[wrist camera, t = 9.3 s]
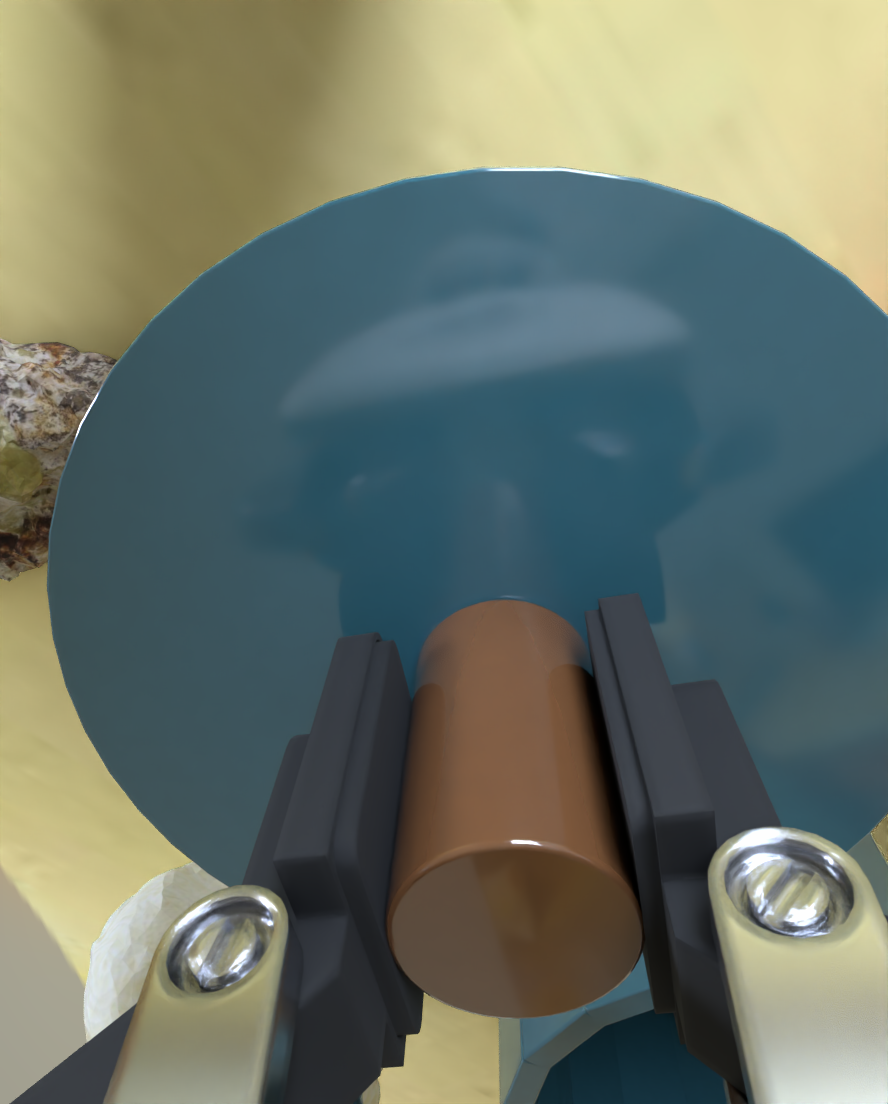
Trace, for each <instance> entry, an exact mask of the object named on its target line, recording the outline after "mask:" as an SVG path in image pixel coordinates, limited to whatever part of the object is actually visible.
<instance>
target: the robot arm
mask: <svg viewBox="0 0 888 1104" xmlns="http://www.w3.org/2000/svg"><path fill="white" fill-rule="evenodd" d="M598 606H599V609H596V610H590V611H584V614H585V622H586V629H587V636H588V643H589V650H590V657H591V664H592V671H593V678H594V682H595V687H596V692H597V697H598V702H599V706H600V711H601V716H602V721H603V726H604V730H605V735H606V740H607V745H608V750H609V754H610V759H611V764H612V769H613V773H614V778H615V783H616V788H617V793H618V797H619V802H620V807H621V812H622V817H623V821H624V826H625V831H626V836H627V841H628V845H629V850H630V855H631V860H632V864H633V869H634V874H635V879H636V884H637V888H638V893H639V898H640V904H641V910H642V917H643V924H644V932H645V945H644V948H643V956H644V961H645V966H646V971H647V976H648V981H649V986H650V991H651V996H652V1001H653V1006H654V1011H655V1014H661V1013H674V1017H675V1022H676V1026H677V1031H678V1035H679V1040H680V1045H682V1044H686V1046H687V1051H688V1052H689V1053H690V1054H692V1055H693V1056H694V1057H696V1058H697V1059H698V1060H700V1061H701V1062H702V1063H704V1064H705V1065H706V1066H708V1067H709V1068H710V1069H712V1070H713V1071H714V1072H716V1073H717V1074H718V1075H720V1076H721V1077H722V1078H723V1085H724V1090H725V1096H726V1101H727V1104H888V916H887V915H885V914H883V911H882V909H881V907H880V905H879V902H878V900H877V898H876V895H875V893H874V891H873V889H872V886H871V884H870V882H869V880H868V878H867V877H866V875H865V874H864V872H863V871H862V869H861V868H860V866H859V865H858V863H857V862H856V861H855V860H854V859H853V858H852V857H851V856H850V855H848V854H847V853H846V852H845V851H844V850H843V849H841V848H840V847H839V846H838V845H836V844H834V843H832V842H830V841H828V840H826V839H824V838H822V837H821V836H819V835H817V834H814V833H810V832H806V831H803V830H799V829H795V828H790V827H782V825H781V823H780V821H779V818H778V816H777V814H776V811H775V809H774V807H773V805H772V802H771V800H770V798H769V796H768V793H767V791H766V789H765V787H764V784H763V782H762V780H761V777H760V775H759V773H758V771H757V768H756V766H755V764H754V762H753V759H752V757H751V755H750V752H749V750H748V748H747V746H746V743H745V741H744V739H743V737H742V734H741V732H740V730H739V727H738V725H737V723H736V721H735V718H734V716H733V714H732V712H731V709H730V707H729V705H728V703H727V700H726V698H725V696H724V693H723V691H722V689H721V687H720V685H719V683H718V682H717V681H716V680H715V679H712V680H704V681H697V682H690V683H682V684H675V685H671V684H670V681H669V679H668V676H667V673H666V670H665V667H664V664H663V661H662V659H661V656H660V653H659V650H658V647H657V644H656V641H655V638H654V636H653V633H652V630H651V627H650V624H649V621H648V618H647V616H646V613H645V610H644V607H643V604H642V601H641V598H640V596H639V594H638V593H633V594H626V595H619V596H613V597H606V598H599V599H598ZM411 708H412V700H411V697H410V693H409V689H408V686H407V682H406V678H405V674H404V671H403V667H402V663H401V660H400V656H399V652H398V649H397V646H396V643H395V641H394V640H388V641H383V640H382V638H381V636H380V634H379V633H378V632H373V633H366V634H360V635H353V636H346V637H341V638H339V639H338V641H337V643H336V646H335V650H334V653H333V657H332V660H331V664H330V667H329V670H328V674H327V677H326V681H325V684H324V687H323V691H322V694H321V698H320V701H319V704H318V708H317V711H316V715H315V718H314V721H313V725H312V728H311V732H310V734H304V735H296V736H294V737H293V738H291V739H290V741H289V743H288V745H287V747H286V750H285V753H284V756H283V760H282V763H281V766H280V769H279V772H278V775H277V778H276V781H275V784H274V787H273V790H272V793H271V796H270V799H269V802H268V806H267V809H266V812H265V815H264V818H263V821H262V824H261V827H260V830H259V833H258V836H257V839H256V842H255V845H254V848H253V852H252V855H251V858H250V861H249V864H248V867H247V870H246V873H245V876H244V879H243V882H242V885H235V886H231V887H228V888H224V889H221V890H217V891H215V892H213V893H211V894H209V895H207V896H205V897H203V898H202V899H200V900H198V901H196V902H195V903H194V904H192V905H191V906H190V907H189V908H187V909H186V910H185V911H184V912H182V913H181V914H180V915H179V916H178V917H177V918H176V919H175V920H174V922H173V923H172V924H171V925H170V927H169V928H168V929H167V930H166V931H165V933H164V934H163V936H162V938H161V940H160V942H159V944H158V946H157V948H156V950H155V952H154V955H153V958H152V961H151V964H150V966H149V969H148V972H147V975H146V978H145V981H144V984H143V987H142V990H141V993H140V996H139V999H138V1002H137V1003H136V1004H135V1005H134V1006H132V1007H131V1008H130V1009H129V1010H127V1011H126V1012H125V1013H124V1014H122V1015H121V1016H120V1017H119V1018H117V1019H116V1020H115V1021H114V1022H112V1023H111V1024H110V1025H108V1026H107V1027H106V1028H105V1029H103V1030H102V1031H101V1032H100V1033H98V1034H97V1035H96V1036H95V1037H93V1038H92V1039H91V1040H90V1041H88V1042H87V1043H86V1044H85V1045H83V1046H82V1047H81V1048H79V1049H78V1050H77V1051H76V1052H74V1053H73V1054H72V1055H71V1056H69V1057H68V1058H67V1059H66V1060H64V1061H63V1062H62V1063H61V1064H59V1065H58V1066H57V1067H55V1068H54V1069H53V1070H52V1071H50V1072H49V1073H48V1074H47V1075H45V1076H44V1077H43V1078H42V1079H40V1080H39V1081H38V1082H37V1083H35V1084H34V1085H33V1086H31V1087H30V1088H29V1089H28V1090H26V1091H25V1092H24V1093H23V1094H21V1095H20V1096H19V1097H18V1098H16V1099H15V1100H14V1101H13V1102H12V1103H10V1104H363V1092H364V1091H365V1090H366V1089H367V1088H368V1087H369V1086H370V1085H371V1084H372V1083H373V1082H374V1081H375V1080H376V1079H377V1078H378V1077H379V1076H380V1074H381V1068H388V1067H401V1066H403V1065H404V1054H405V1042H406V1035H410V1034H418V1033H419V1032H420V1028H421V1021H422V1008H423V994H424V992H423V991H422V990H420V989H419V988H418V987H416V986H415V985H414V984H413V983H412V982H411V981H410V980H409V979H408V978H407V977H406V976H405V975H404V974H403V973H402V972H401V970H400V969H399V967H398V966H397V964H396V963H395V961H394V959H393V957H392V955H391V952H390V949H389V946H388V942H387V938H386V933H385V915H386V907H387V899H388V891H389V883H390V875H391V867H392V859H393V852H394V844H395V836H396V828H397V820H398V812H399V804H400V796H401V788H402V780H403V772H404V764H405V756H406V748H407V740H408V732H409V724H410V716H411Z"/></svg>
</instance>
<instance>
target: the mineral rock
mask: <svg viewBox="0 0 888 1104" xmlns="http://www.w3.org/2000/svg"><path fill="white" fill-rule="evenodd" d="M116 362H117V361H116V360H114V359H113V358H111V357H108V356H105V355H102V354H98V353H92V352H85V353H80V352H79V351H77V350H76V349H75V348H74V347H71V346H68V345H64V344H61V343H58V342H55V343H34V344H12V343H10V342H8V341H5V340H3V339H1V338H0V579H4V580H7V581H11V580H13V579H14V578H16V577H18V576H19V574H20V572H24V571H27V570H31V569H34V568H36V567H38V568H39V567H40V566H42V565H43V564H44V563H46V562H47V561H48V546H49V530H50V525H51V520H52V515H53V510H54V505H55V500H56V495H57V490H58V485H59V480H60V476H61V474H62V471H63V468H64V466H65V463H66V460H67V458H68V455H69V452H70V449H71V447H72V444H73V441H74V439H75V436H76V433H77V431H78V428H79V425H80V423H81V421H82V419H83V418H84V416H85V414H86V412H87V410H88V409H89V407H90V405H91V403H92V402H93V400H94V398H95V396H96V395H97V393H98V391H99V389H100V388H101V386H102V384H103V382H104V380H105V379H106V377H107V375H108V373H109V372H110V370H111V369H112V367H113V366H114V365H115V364H116Z"/></svg>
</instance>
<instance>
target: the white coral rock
mask: <svg viewBox="0 0 888 1104" xmlns="http://www.w3.org/2000/svg"><path fill="white" fill-rule="evenodd" d="M224 888H228V887H227V886H226V885H224V884H223V883H221V882H220V881H218V880H217V879H215V878H214V877H212V876H211V875H209V874H208V873H206V872H205V871H204V870H203V869H202V868H200V867H199V866H198V865H197V864H195V863H194V862H192V863H189V864H186V865H184V866H182V867H178V868H174V869H171V870H169V871H167V872H164V873H162V874H160V875H158V876H156V877H154V878H153V879H151V880H150V881H148V882H147V883H146V884H145V885H143V886H142V887H141V888H140V890H139V891H138V892H137V893H136V894H135V895H133V896H132V897H130V898H129V899H127V900H126V901H125V902H124V903H123V904H122V905H121V906H120V907H119V908H118V909H117V910H116V911H115V912H114V913H113V914H112V915H111V916H110V918H109V920H108V921H107V923H106V924H105V926H104V928H103V930H102V933H101V935H100V937H99V938H98V939H97V940H96V941H95V942H93V944H92V947H91V955H90V968H89V973H88V978H87V983H86V988H85V993H84V1025H85V1031H86V1038H87V1042H88V1041H90V1040H91V1039H92V1038H93V1037H95V1036H96V1035H97V1034H98V1033H100V1032H101V1031H102V1030H103V1029H105V1028H106V1027H107V1026H108V1025H110V1024H111V1023H112V1022H114V1021H115V1020H116V1019H117V1018H119V1017H120V1016H121V1015H122V1014H124V1013H125V1012H126V1011H127V1010H129V1009H130V1008H131V1007H132V1006H134V1005H135V1004H136V1003H137V1002H138V999H139V996H140V993H141V990H142V987H143V984H144V981H145V978H146V975H147V972H148V969H149V966H150V964H151V961H152V958H153V955H154V952H155V950H156V948H157V946H158V944H159V942H160V940H161V938H162V936H163V934H164V933H165V931H166V930H167V929H168V928H169V927H170V925H171V924H172V923H173V922H174V920H175V919H176V918H177V917H178V916H179V915H180V914H181V913H182V912H184V911H185V910H186V909H187V908H189V907H190V906H191V905H192V904H194V903H195V902H196V901H198V900H200V899H202V898H203V897H205V896H207V895H209V894H211V893H213V892H215V891H217V890H221V889H224ZM382 1070H383V1068H381V1071H382ZM379 1100H380V1084H379V1082H378V1078H377V1079H376V1080H375V1081H374V1082H373V1083H372V1084H371V1085H370V1086H369V1087H368V1088H367V1089H366V1090H365V1091H364V1092H363V1104H379Z"/></svg>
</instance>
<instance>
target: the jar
mask: <svg viewBox="0 0 888 1104" xmlns="http://www.w3.org/2000/svg"><path fill="white" fill-rule="evenodd" d="M847 854H848V855H850V856H851V857H852V858H853V859H854V860H855V861H856V862H857V863H858V865H859V866H860V868H861V869H862V871H863V872H864V874H865V875H866V877H867V878H868V880H869V882H870V884H871V886H872V889H873V891H874V893H875V895H876V898H877V900H878V902H879V905H880V907H881V909H882V911H883V914H885V915H887V916H888V862H887V860H886V858H885V857H884V855H883V853H882V851H881V849H880V848H879V846H878V844H877V842H876V840H875V839H874V837H873V835H872V833H871V832H870V833H869V834H868V835H867V836H866V837H864V838H863V839H862V840H861V841H860V842H859V843H858V844H856V845H855V846H854V847H853V848H852V849H851V850H849V851H848V852H847ZM499 1083H500V1104H727V1101H726V1096H725V1090H724V1085H723V1078H722V1077H721V1076H720V1075H718V1074H717V1073H716V1072H714V1071H713V1070H712V1069H710V1068H709V1067H708V1066H706V1065H705V1064H704V1063H702V1062H701V1061H700V1060H698V1059H697V1058H696V1057H694V1056H693V1055H692V1054H690V1053H689V1052H688V1051H687V1046H686V1044H682V1045H680V1040H679V1035H678V1031H677V1026H676V1022H675V1017H674V1013H661V1014H655V1011H654V1006H653V1001H652V996H651V991H650V986H649V981H648V976H647V971H646V966H645V961H644V956H643V954H641V957H640V959H639V961H638V963H637V964H636V966H635V968H634V970H633V971H632V972H631V973H630V975H629V976H628V977H627V978H626V979H625V980H624V981H623V982H622V983H621V984H620V985H619V986H618V987H617V988H616V989H614V990H613V991H611V992H610V993H608V994H607V995H606V996H604V997H602V998H600V999H599V1000H597V1001H595V1002H593V1003H591V1004H589V1005H586V1006H584V1007H581V1008H579V1009H576V1010H573V1011H570V1012H566V1013H563V1014H558V1015H553V1016H548V1017H540V1018H529V1019H507V1018H499Z"/></svg>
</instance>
